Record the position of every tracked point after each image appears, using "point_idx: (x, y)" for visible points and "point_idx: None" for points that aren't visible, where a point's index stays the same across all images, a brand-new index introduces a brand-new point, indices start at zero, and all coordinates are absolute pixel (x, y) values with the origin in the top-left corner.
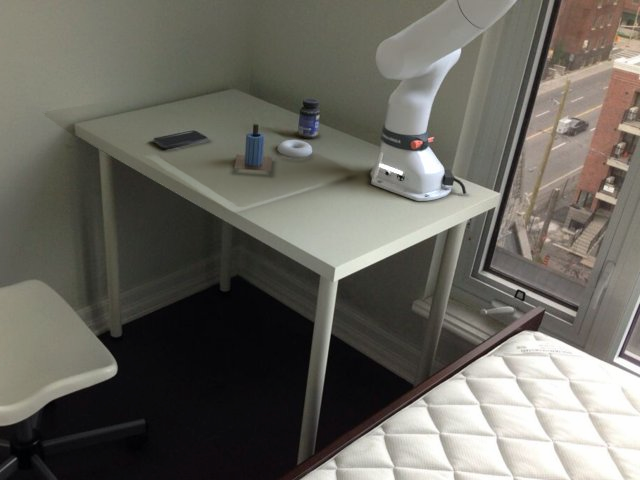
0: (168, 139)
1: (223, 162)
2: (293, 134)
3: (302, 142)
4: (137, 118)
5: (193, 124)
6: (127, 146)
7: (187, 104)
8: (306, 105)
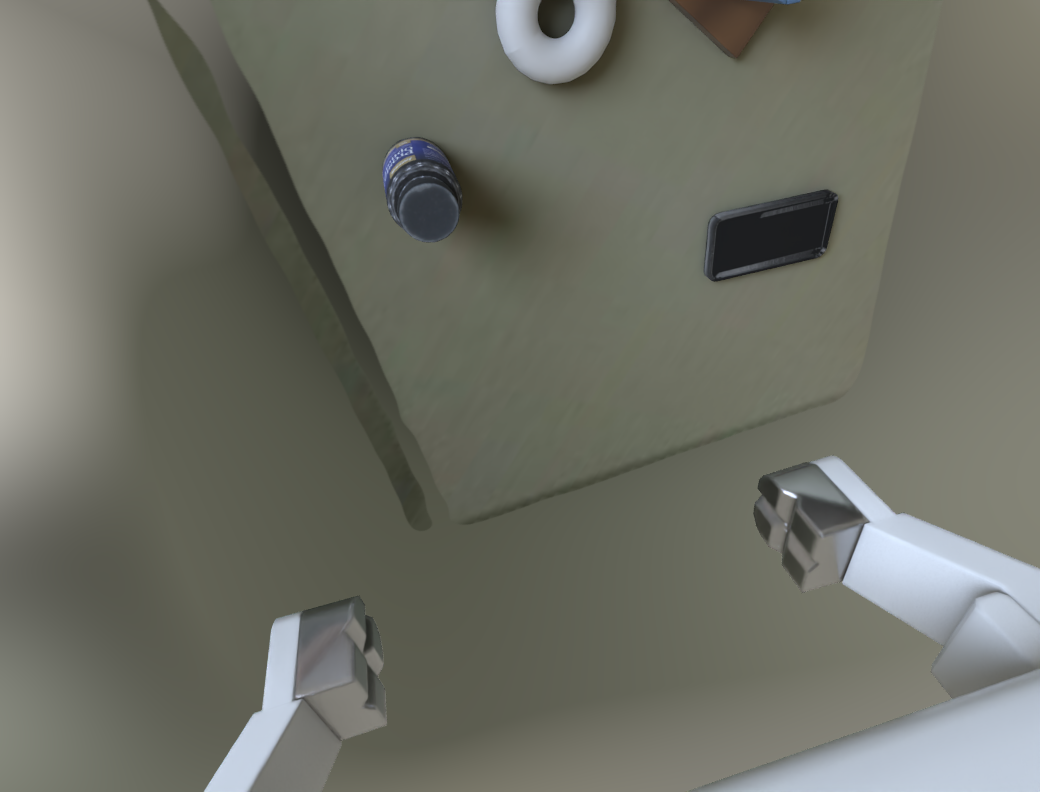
0: (796, 241)
1: (771, 50)
2: None
3: (527, 25)
4: (746, 394)
5: (665, 337)
6: (872, 245)
7: (603, 452)
8: (454, 195)
